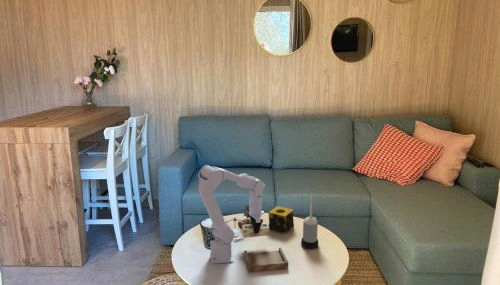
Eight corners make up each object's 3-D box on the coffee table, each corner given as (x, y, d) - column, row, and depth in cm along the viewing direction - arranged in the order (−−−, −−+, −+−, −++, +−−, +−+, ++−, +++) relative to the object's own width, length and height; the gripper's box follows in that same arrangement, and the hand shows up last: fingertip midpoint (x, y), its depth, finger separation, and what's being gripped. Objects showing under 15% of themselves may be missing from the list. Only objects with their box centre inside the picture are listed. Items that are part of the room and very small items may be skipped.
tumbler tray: (243, 237, 175) (243, 229, 174) (242, 232, 180) (242, 225, 179) (269, 235, 177) (269, 227, 176) (266, 230, 182) (266, 222, 181)
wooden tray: (249, 272, 159) (249, 266, 158) (244, 256, 171) (244, 250, 170) (288, 268, 161) (288, 262, 161) (280, 253, 174) (280, 247, 173)
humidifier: (300, 248, 178) (301, 198, 172) (302, 240, 186) (303, 192, 180) (317, 250, 176) (319, 200, 171) (318, 242, 184) (320, 194, 178)
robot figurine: (245, 231, 196) (244, 209, 193) (233, 225, 203) (233, 204, 200) (260, 224, 203) (260, 203, 200) (249, 219, 210) (249, 198, 207)
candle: (294, 227, 200) (294, 209, 198) (285, 234, 192) (285, 216, 190) (277, 222, 206) (277, 205, 203) (268, 229, 197) (268, 212, 195)
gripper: (267, 209, 169) (266, 236, 172) (260, 197, 183) (260, 223, 186) (251, 210, 168) (251, 238, 171) (246, 198, 181) (246, 224, 185)
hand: (255, 230), depth 178 cm, fingers closed on tumbler tray, 5 cm apart
